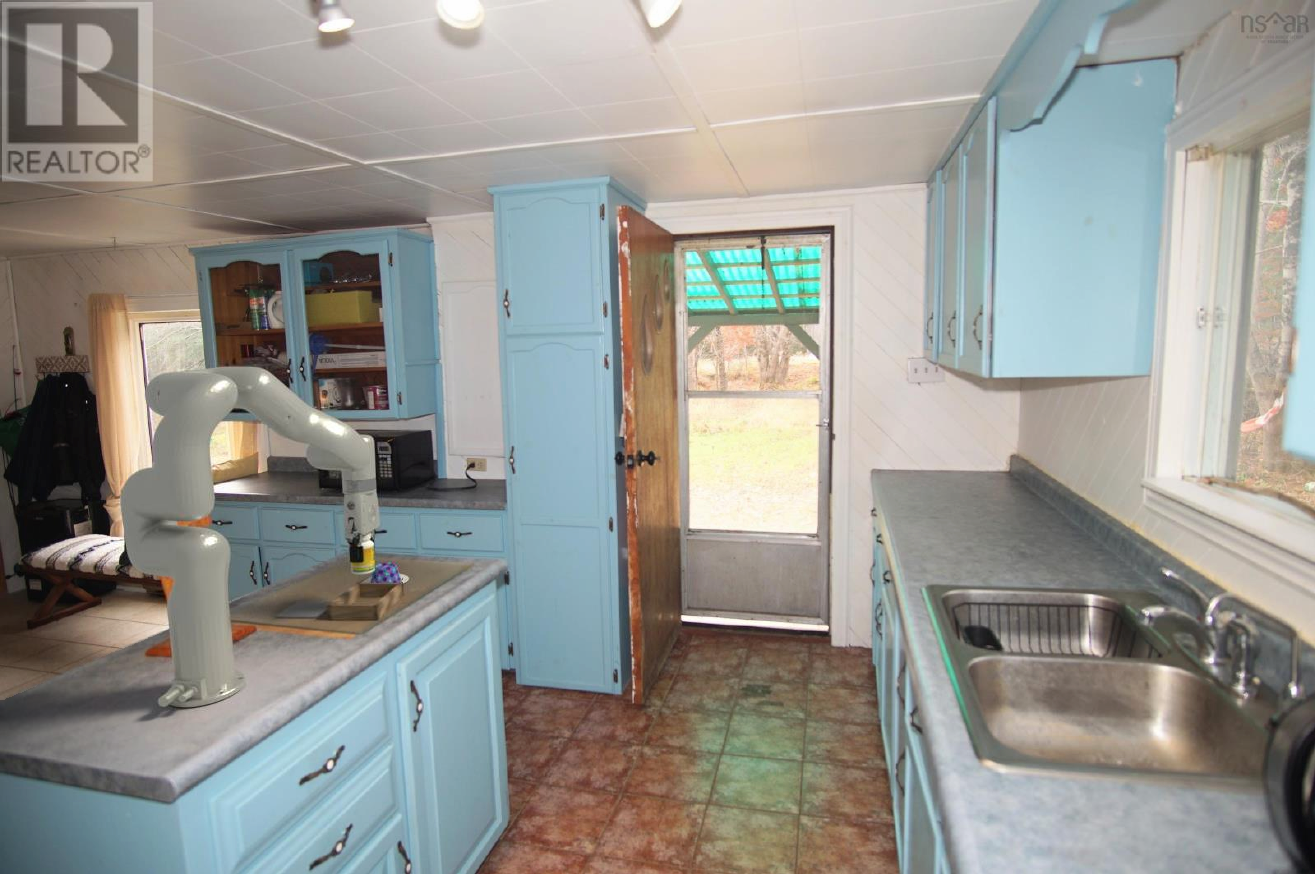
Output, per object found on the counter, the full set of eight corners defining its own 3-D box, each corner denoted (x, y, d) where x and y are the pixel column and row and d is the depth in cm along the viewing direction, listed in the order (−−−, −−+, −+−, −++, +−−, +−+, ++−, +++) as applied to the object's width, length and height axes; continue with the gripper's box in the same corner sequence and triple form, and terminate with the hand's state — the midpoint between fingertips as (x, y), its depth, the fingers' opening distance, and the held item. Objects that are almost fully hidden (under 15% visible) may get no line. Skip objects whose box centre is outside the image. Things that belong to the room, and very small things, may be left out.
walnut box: (377, 620, 164) (376, 606, 163) (327, 619, 164) (326, 605, 164) (403, 595, 180) (403, 582, 179) (358, 595, 180) (357, 582, 179)
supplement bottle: (348, 571, 170) (346, 533, 169) (371, 567, 174) (369, 529, 173) (355, 576, 166) (353, 537, 165) (378, 572, 169) (376, 534, 168)
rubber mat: (317, 618, 165) (317, 616, 165) (276, 617, 165) (276, 616, 165) (337, 602, 175) (337, 601, 175) (298, 602, 175) (298, 600, 175)
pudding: (373, 576, 196) (372, 558, 195) (415, 576, 196) (414, 558, 195) (354, 591, 184) (353, 572, 183) (399, 591, 184) (398, 572, 183)
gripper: (358, 492, 159) (362, 569, 161) (389, 479, 176) (392, 549, 178) (326, 492, 159) (330, 568, 161) (360, 479, 176) (363, 549, 178)
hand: (362, 557), depth 169 cm, fingers closed on supplement bottle, 5 cm apart
